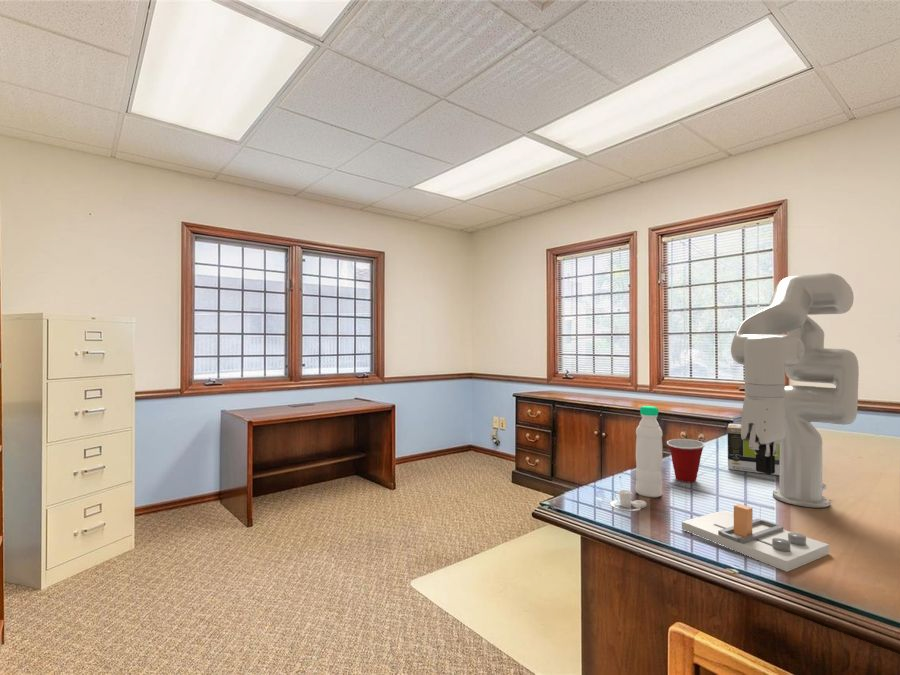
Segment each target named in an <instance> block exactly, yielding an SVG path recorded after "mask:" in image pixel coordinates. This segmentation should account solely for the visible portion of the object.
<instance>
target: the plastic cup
mask: <svg viewBox="0 0 900 675" xmlns="http://www.w3.org/2000/svg"><path fill="white" fill-rule="evenodd" d="M666 445H668V449H669V452H670V455H671V462H672V467H673V470H674V477H675V480H677V481H679V482H683V483H695V482H697V478H698V473H699V470H700V463H701V458H702V454H703V450H704V447H705V442H702V441H700V440H697V439H690V438H673V439H669V440H667V441H666Z"/></svg>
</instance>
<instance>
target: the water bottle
mask: <svg viewBox="0 0 900 675" xmlns="http://www.w3.org/2000/svg"><path fill="white" fill-rule="evenodd" d="M639 412H640V417H641V419H640V421H639V423H638V425H637V427H636V429H635V434H636V440H635V441H636V442H635V462H636V463H635V465H636V468H635V479H636V480H635V492H636V494H638V495H639V496H642V497H646V498H659V497H661V496H662V495H663V484H662V483H663V471H662V470H663V469H662V467H663V439H662V438H663V430H662V427H661V426H660V424H659V422H658V420H657V418H658V415H659V409H658V407H657V406H652V405H643V406H641V407H640V410H639Z"/></svg>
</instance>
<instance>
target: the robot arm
mask: <svg viewBox="0 0 900 675" xmlns="http://www.w3.org/2000/svg"><path fill="white" fill-rule="evenodd" d="M853 291H854V290H853V289H852V286H851V285H850V283H849V282H847V281H846V279H845V278H844V277H842V276H841V275H838V274H836V273H832V272H830V273H829V272H828V273H816V274H815V273H814V274H804V275H801V274H799V275H794V276H793V275H791V276H788V277H785V278H783V279H782V280H780V281H779V282H778V283H777V284H776V287H775V289H774V291H773V294H772V297H771V299H770V301H769V304H768V305H767V307H766V308H764V309H762V310H760V311H758V312H756V313H755V314H753V315H751V316H749V317H747V318H746V319H744V320H743V321H742V322H741V323H740V324H739V326H738V327H737V328H736V331H735V334H734V336H733V338H732V342H731V345H730V353H731V357H732V359H733V361H735V363H737V364H739V365H742V366H743V365H744V398H743V403H742V410H741V411H742V412H741V438H742V440H744V441H749V448H750V449H754V453H755V454H756V471H758V472H762V473H761V474H764V473H766V474H765V475H772V474H773V473H775V456H773V455H775V454H776V446H777V445H778V444H779V445H780V446H779V475H778V478H779V482H778V483H779V484H778V485H779V486H778V487H779V488H778V489H774V490H772V496H773V497H774V498H775V499H776V500H779V501H781V502H783V503H786V504H790V505H795V506H799V507H805V508H817V509H819V508H821V509H822V508H828V507H829V506H830V499H828V498H827V497H825V496H824V495H823V491H824V490H826V489H827V484H825V483H824V482H823V439H822V438H823V437H822V435H821V433H820V432H819V431H818V430H817V428H816V427H815V426H814V425H813V424H812V423H821V424H822V423H823V424H831V425H851V424H853V423H854V422H855V420H856V419H857V415H858V407H859V406H858V404H859V403H858V402H859V378H860V377H859V376H860V375H859V360H858V357H857V356H856V354H855V353H854V352H853V351H851V350H850V349H845V348H844V349H843V348H825V346H824V345H825V331H824V330H823V329H822V327H821V326H820V325H819V323H817V321H815V320H814V319H813V318H811V317H810V316H812V315H813V316H814V315H840V314H846V313H847V312H849V311H850V310H851V309H852V307H853V304H854V299H855V298H854V292H853ZM809 315H810V316H809ZM786 377H787V378H788V379H790V380H792V381H795V382H802V383H815V384H817V383H818V384H830V385H831V384H832V385H834V386H835V387H825V386H824V387H823V386H814V385H813V386H812V385H793V384H792V385H786Z"/></svg>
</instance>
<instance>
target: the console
mask: <svg viewBox="0 0 900 675" xmlns="http://www.w3.org/2000/svg"><path fill="white" fill-rule="evenodd" d="M682 529H683V530H686V531H689V532H691V533H694V534H696V535H699V536H701V537H704V538H706V539H709V540H711V541H714V542H716V543H719V544H721V545H724V546H726V547H728V548H731V549H733V550H735V551H734V552H736V551H737V552H736V553H738V552H740V553H739V554H741V553H742V554H741V555H743V554H744V556H746V555H747V556H746V557H748V556H749V557H748V558H751V557H752V558H751V559H753V558H754V560H756V561H758V560H759V561H758V562H762V563H763V564H766V565H768V564H769V566H771V567H774V568H777V569H779V570H782V571H783V572H787V573H788V572H790V571H792V570H795V569H797V568H800V567H802V566H804V565H807V564H809V563H811V562H813V561H815V560H818V559H821V558H823V557H826V556H827V555H829V554H830V544H829V543H825V542H822V541H820V540H817V539H815V538H810V537H807V536H806V535H804V534H801V533H798V532H792V531H790V530H786V529H784V526H781V525H780V524H778V523H775V522H772V521H768V520H766V519H760V518H756V519H755V518H754V519H752V534H750V535H747V536H744V537H743V536H740V535H738V534H735V533H734V512H731V511H727V510H724V509H722V510H719V511H716V512H711V513H708V514H704V515H700V516H697V517H694V518H690V519H686V520H682V521H681V530H682ZM728 548H727V549H728ZM731 549H730V550H731ZM733 550H732V551H733Z"/></svg>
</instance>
